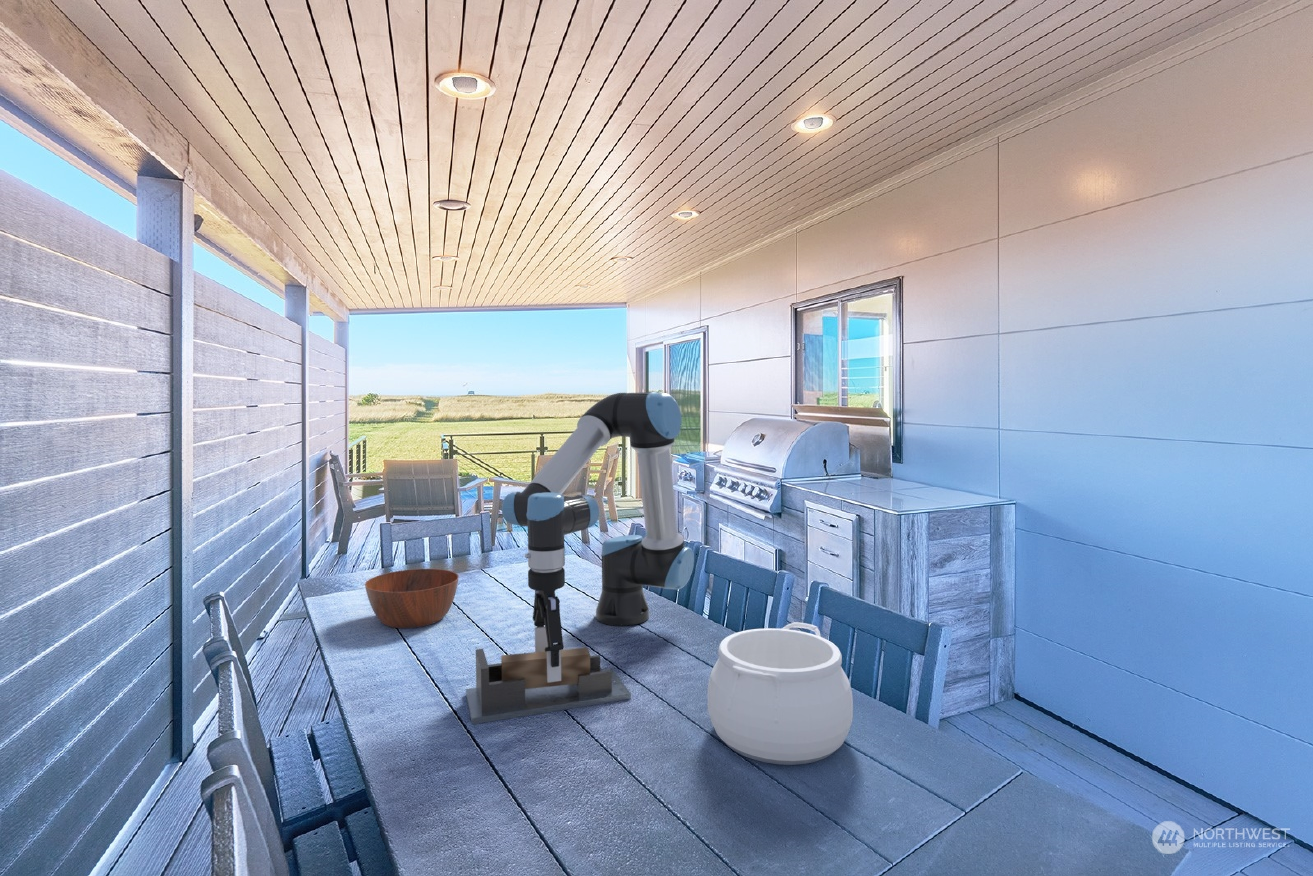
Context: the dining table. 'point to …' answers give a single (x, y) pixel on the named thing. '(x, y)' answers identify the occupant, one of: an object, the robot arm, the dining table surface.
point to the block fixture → (537, 692)
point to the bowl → (412, 596)
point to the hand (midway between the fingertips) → (547, 668)
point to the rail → (545, 667)
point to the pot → (780, 695)
